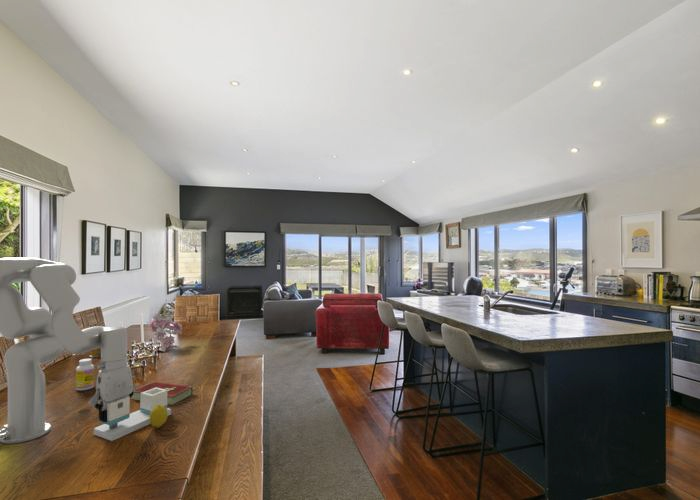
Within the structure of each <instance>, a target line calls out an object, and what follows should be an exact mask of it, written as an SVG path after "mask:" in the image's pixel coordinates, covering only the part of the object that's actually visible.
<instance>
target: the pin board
mask: <svg viewBox="0 0 700 500" xmlns="http://www.w3.org/2000/svg"><path fill="white" fill-rule="evenodd" d="M166 410H167V417H168V416H171V415H172V409H171V408H169V407H167V409H166ZM148 425H152V424H151V423H150V415H149V414H146V413H143V412H140V409H139V410H136V411H133V412H130V417H129V418H128V419H125V420H123V421H120V422H118V423H116V424H113V425H111V426H110V425H107V424H104V423H102V424H101V425H99V426H96V427H94V428H93V435H94V436H97V437H100V438H101V439H105V440H107V441H111V442H113V441H115V440H117V439H120V438H122V437H124V436H126V435H129V434H131V433H133V432H135V431H137V430H140V429H142V428H144V427H146V426H148Z"/></svg>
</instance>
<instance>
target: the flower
mask: <svg viewBox="0 0 700 500" xmlns="http://www.w3.org/2000/svg"><path fill="white" fill-rule="evenodd" d="M162 315H163V314H162V313H160V314H158V312H157V313H155V314H154V315H153V316H152V317H151V318H150V320H151V321H147V324H148V328H149V329H151V332H152V333H154V335H155V336H156V337H155V340H156V341H158V342H159V341H160V342H161V343H162V347H160V348H159V350H158V351H161V352H163V353H166V351H167V347H173V346H174V345H173V344H175V343H176V342H175V338H176V337H175V336H176V335H177V334H178V335H179V334H181V335H182V334H183V332H182V330H183V325H182V324H181V323H179V322H176V321H172V320H173V319H172V317H167V315H166V316H165V318H164V316H162ZM167 334H168V336H167ZM173 335H175V336H173Z"/></svg>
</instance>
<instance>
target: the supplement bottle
mask: <svg viewBox="0 0 700 500" xmlns="http://www.w3.org/2000/svg"><path fill="white" fill-rule="evenodd" d="M92 360H93V359H92V358H83V359H80V360H79V361H78V366H77V367H76V368H75V390H76V391H81V392H82V391H87V390H90V389H93V388H94V386H95V366H94V364H93V363H92Z"/></svg>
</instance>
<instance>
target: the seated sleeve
mask: <svg viewBox="0 0 700 500" xmlns="http://www.w3.org/2000/svg"><path fill="white" fill-rule="evenodd" d="M139 401H140V403H139V404H140V405H139V407H140V409H139V410H140V412H143V413H146V414H149V415H150V413H151V411H152V409H153V408H154V407H156V406H158V405H161V406H164V407H165V408H166V409H167V408H168V404H167V390H165V389H161V388H157V387H156V388H153V389H150V390H147V391H145V392H142V393H141V394H140V400H139Z"/></svg>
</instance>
